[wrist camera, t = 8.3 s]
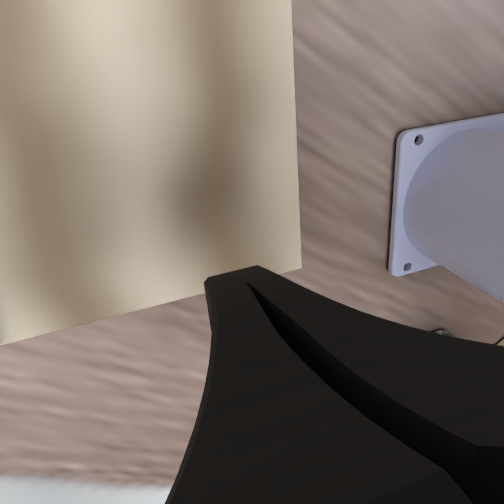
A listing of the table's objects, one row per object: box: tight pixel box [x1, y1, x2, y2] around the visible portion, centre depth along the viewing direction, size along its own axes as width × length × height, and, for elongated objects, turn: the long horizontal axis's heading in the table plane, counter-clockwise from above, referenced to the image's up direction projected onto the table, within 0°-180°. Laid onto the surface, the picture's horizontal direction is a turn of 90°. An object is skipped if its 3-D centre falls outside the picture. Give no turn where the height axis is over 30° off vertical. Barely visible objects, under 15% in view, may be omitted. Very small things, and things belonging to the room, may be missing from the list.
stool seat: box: [0, 0, 302, 345], centre depth 14 cm, size 18×14×5 cm
